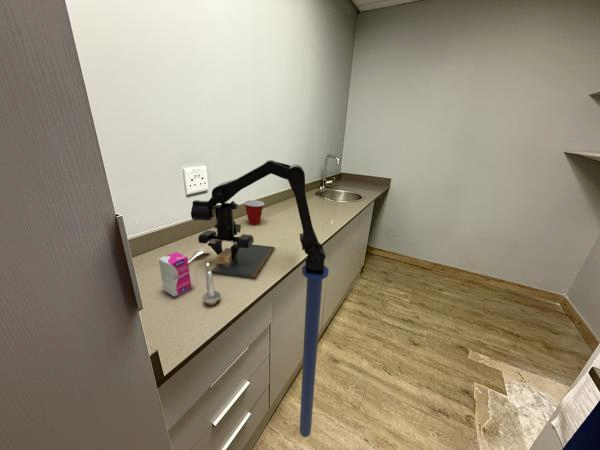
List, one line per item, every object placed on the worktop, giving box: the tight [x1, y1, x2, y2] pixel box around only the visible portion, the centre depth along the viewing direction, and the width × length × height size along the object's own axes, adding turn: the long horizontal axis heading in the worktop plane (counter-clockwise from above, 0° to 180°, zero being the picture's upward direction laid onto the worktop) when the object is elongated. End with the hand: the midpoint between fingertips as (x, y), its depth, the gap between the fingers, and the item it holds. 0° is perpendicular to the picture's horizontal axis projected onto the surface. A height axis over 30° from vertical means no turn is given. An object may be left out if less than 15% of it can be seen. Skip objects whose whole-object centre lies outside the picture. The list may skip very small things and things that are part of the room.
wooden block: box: [216, 247, 238, 268], centre depth 89 cm, size 4×7×4 cm, turn 170°
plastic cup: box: [243, 199, 265, 226], centre depth 131 cm, size 11×11×12 cm
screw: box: [201, 262, 221, 306], centre depth 68 cm, size 13×5×5 cm
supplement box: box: [158, 251, 192, 299], centre depth 73 cm, size 6×6×12 cm
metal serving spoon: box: [188, 248, 210, 264], centre depth 89 cm, size 20×4×5 cm
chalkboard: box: [211, 243, 275, 280], centre depth 94 cm, size 16×24×1 cm, turn 170°
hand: (227, 260), depth 90 cm, fingers closed on wooden block, 4 cm apart
